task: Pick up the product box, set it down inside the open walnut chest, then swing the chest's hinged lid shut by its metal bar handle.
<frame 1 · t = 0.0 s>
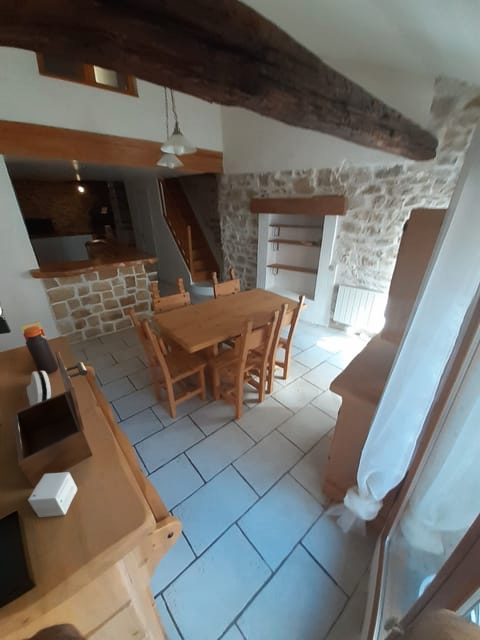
bottle: (49, 370, 107), on the counter
chest: (58, 444, 76), on the counter
product box: (59, 503, 62), on the counter
baking soda box: (44, 357, 115), on the counter
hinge: (42, 397, 93), on the counter
lid: (78, 385, 73), point 17 cm above the counter, hinge at 95.0°
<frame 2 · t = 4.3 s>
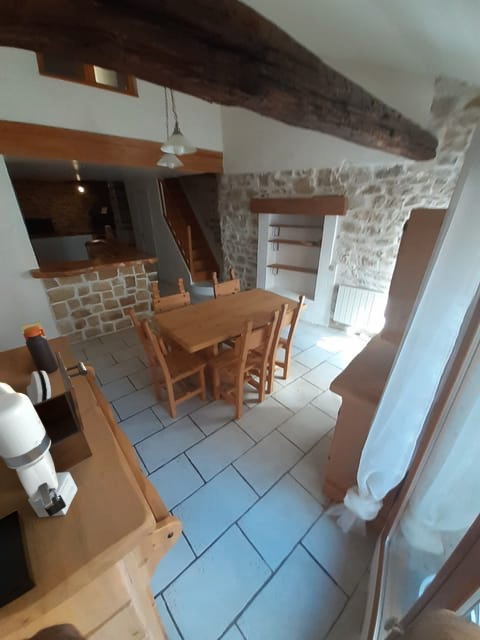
hand: (54, 494, 60), 4 cm above the counter, tool pointing down, fingers closed on product box, 8 cm apart
product box: (59, 503, 62), on the counter, touching gripper
everything else where it was.
when the fingers open (4 cm above the counter, at t = 12.1 s): product box stays where it is, resting on chest.
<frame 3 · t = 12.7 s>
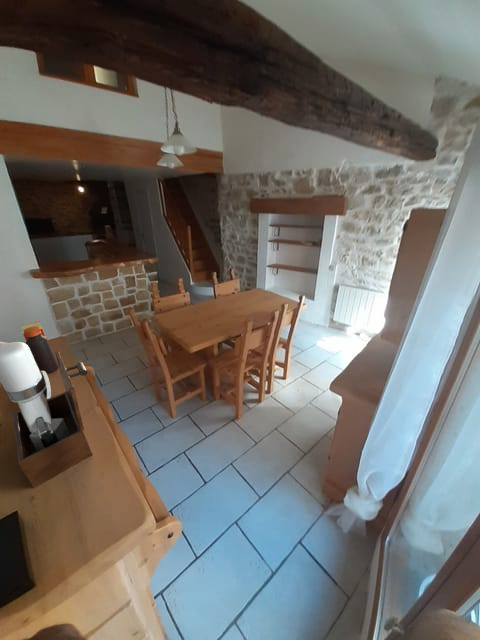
hand: (48, 432, 73), 6 cm above the counter, tool pointing down, fingers open, 9 cm apart
product box: (55, 444, 75), point 1 cm above the counter, touching chest
everything else where it was.
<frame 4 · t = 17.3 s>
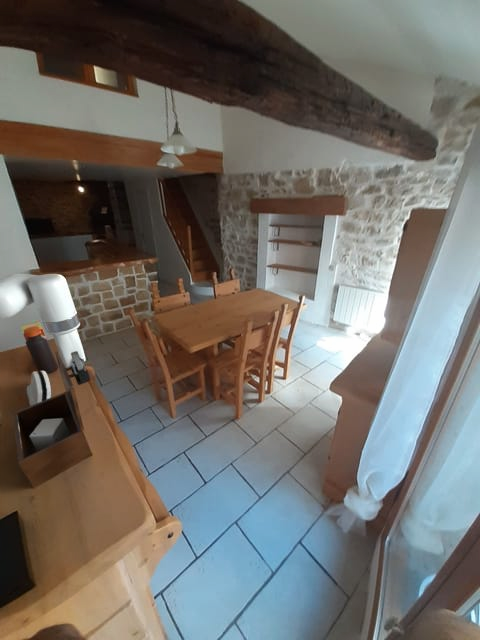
hand: (81, 376, 73), 20 cm above the counter, tool pointing down, fingers closed on lid, 5 cm apart
lid: (78, 385, 73), point 17 cm above the counter, hinge at 95.0°, touching gripper
everything else where it was.
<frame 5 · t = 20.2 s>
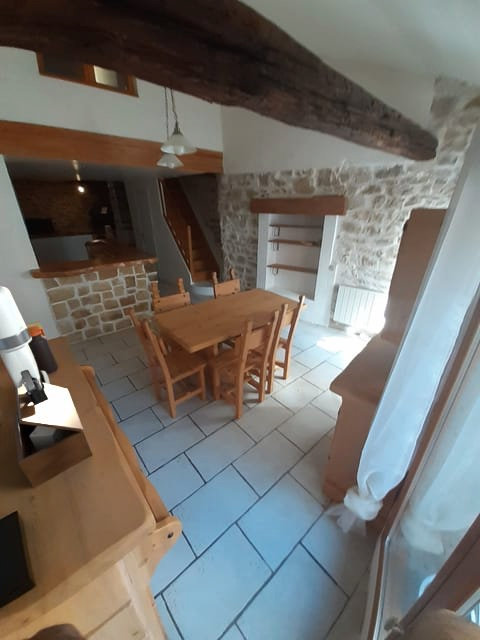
hand: (39, 395, 67), 19 cm above the counter, tool pointing down, fingers closed on lid, 5 cm apart
lid: (53, 395, 70), point 17 cm above the counter, hinge at 47.9°, touching gripper
everything else where it was.
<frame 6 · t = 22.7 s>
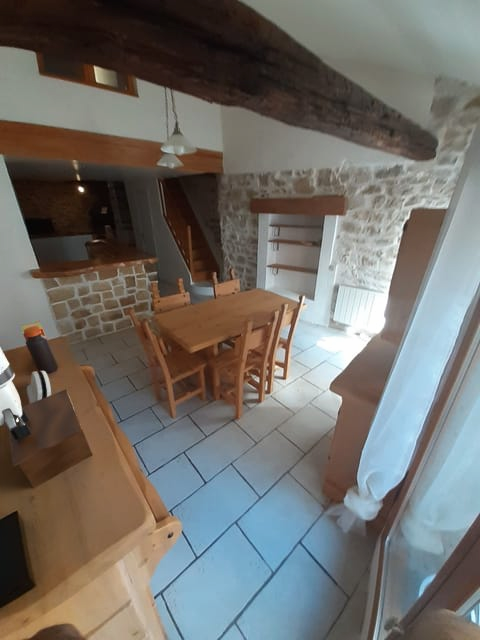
hand: (22, 429, 68), 11 cm above the counter, tool pointing down, fingers closed on lid, 5 cm apart
lid: (41, 415, 70), point 13 cm above the counter, hinge at -0.2°, touching chest, gripper
everything else where it was.
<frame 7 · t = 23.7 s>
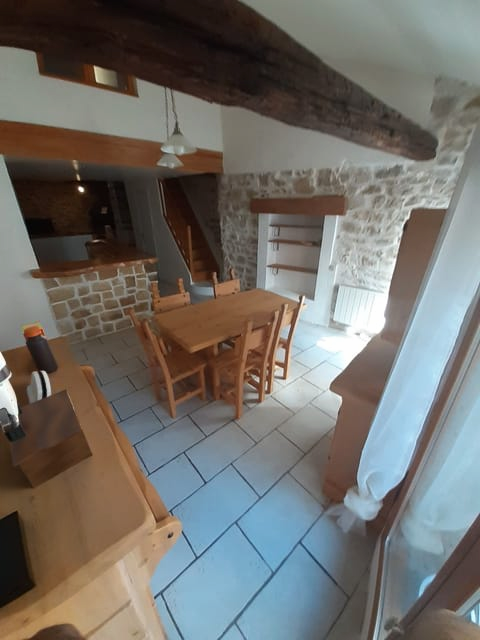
hand: (16, 426, 67), 12 cm above the counter, tool pointing down, fingers open, 9 cm apart
lid: (41, 415, 70), point 13 cm above the counter, hinge at -0.2°, touching chest
everything else where it was.
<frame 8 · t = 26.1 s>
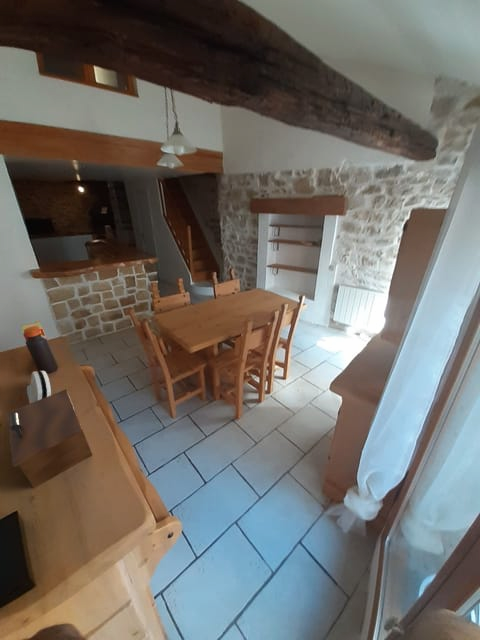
nothing on the counter moved.
at the end: product box inside the target area in the chest (0.5 cm from its centre), point 0.7 cm above the chest's base; lid at +0° (first picture: +95°) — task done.
